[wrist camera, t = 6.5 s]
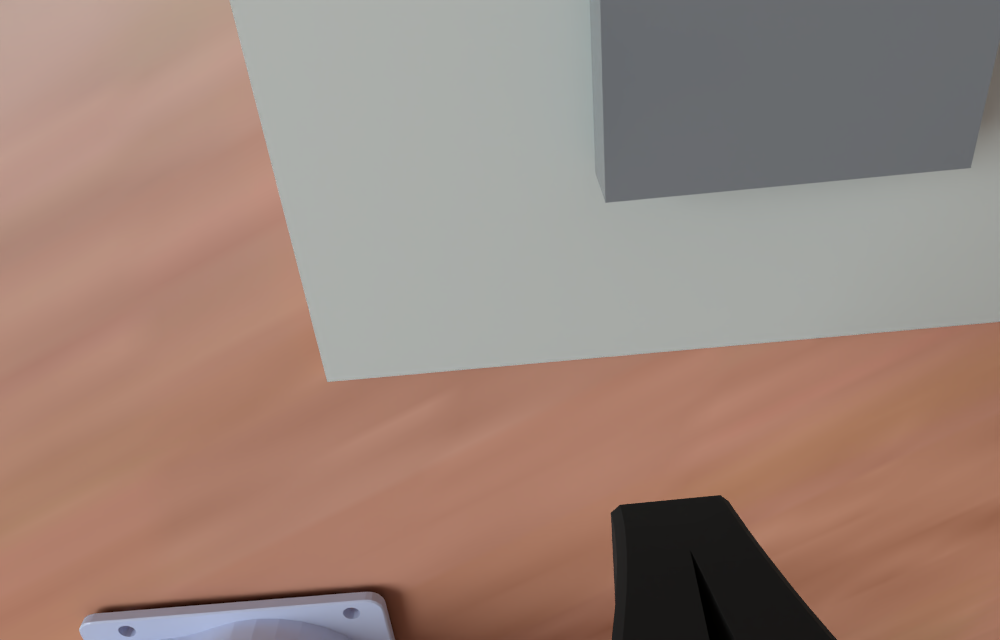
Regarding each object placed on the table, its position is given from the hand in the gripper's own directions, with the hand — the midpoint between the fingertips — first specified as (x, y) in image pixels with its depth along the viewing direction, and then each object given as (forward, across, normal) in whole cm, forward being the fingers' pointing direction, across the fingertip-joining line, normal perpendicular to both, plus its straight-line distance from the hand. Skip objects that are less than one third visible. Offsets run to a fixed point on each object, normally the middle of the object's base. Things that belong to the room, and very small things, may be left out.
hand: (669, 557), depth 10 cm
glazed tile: (+8, 0, -5) cm, 10 cm away
